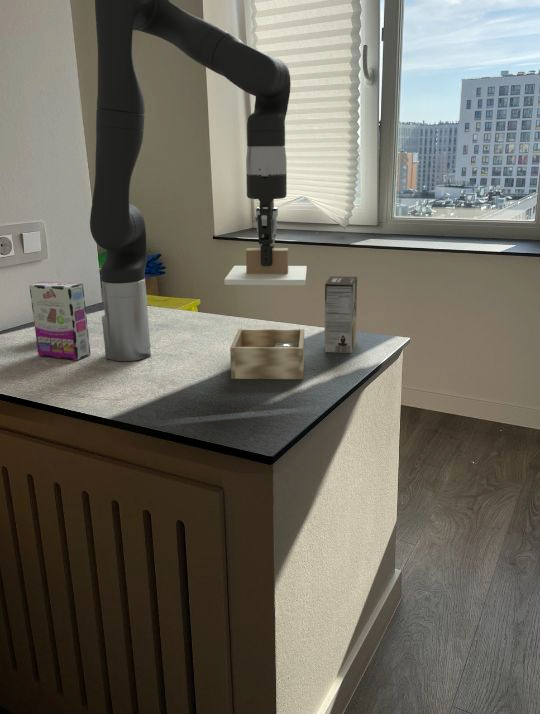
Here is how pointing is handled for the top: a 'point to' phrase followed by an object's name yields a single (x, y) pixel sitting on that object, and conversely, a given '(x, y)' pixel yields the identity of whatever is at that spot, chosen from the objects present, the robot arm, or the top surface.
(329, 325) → the coffee box
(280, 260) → the lid
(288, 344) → the silver metal ball
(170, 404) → the top surface
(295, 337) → the birch box
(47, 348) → the candy bar box
